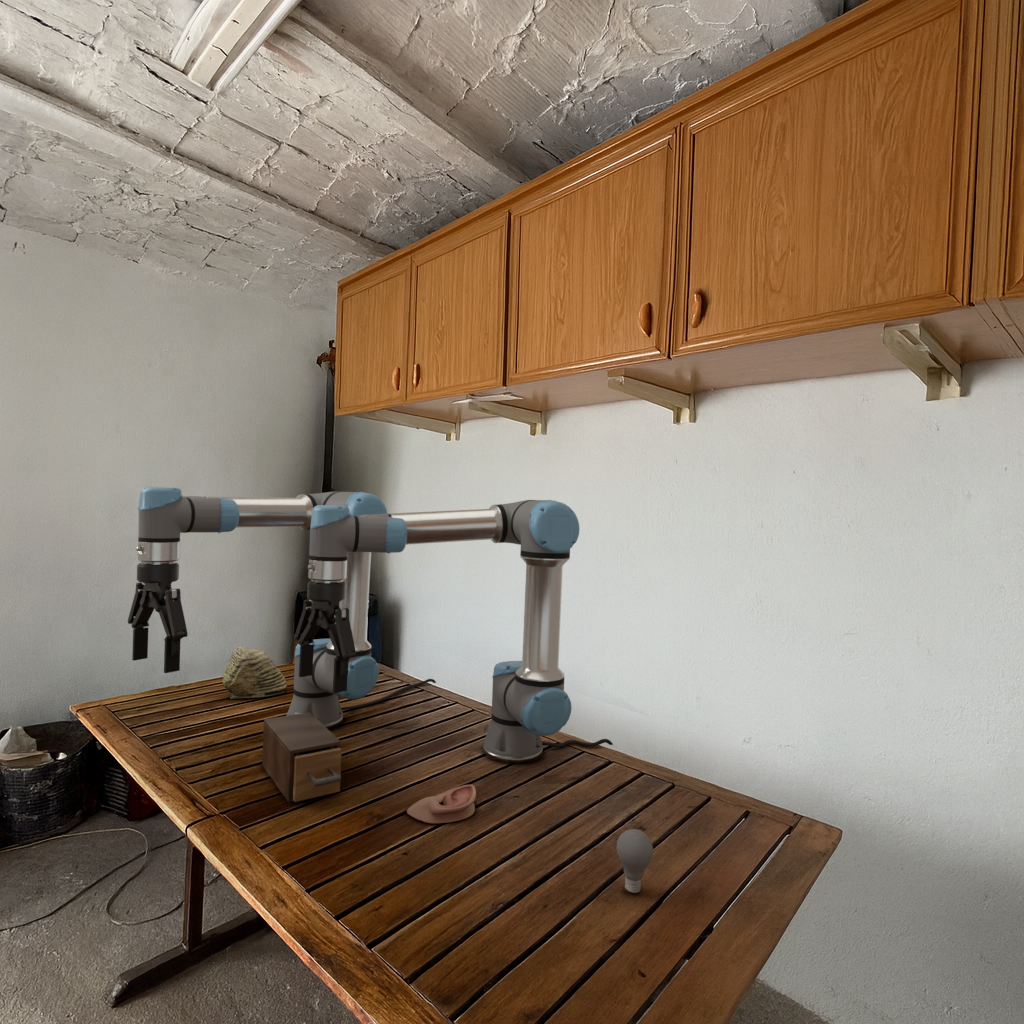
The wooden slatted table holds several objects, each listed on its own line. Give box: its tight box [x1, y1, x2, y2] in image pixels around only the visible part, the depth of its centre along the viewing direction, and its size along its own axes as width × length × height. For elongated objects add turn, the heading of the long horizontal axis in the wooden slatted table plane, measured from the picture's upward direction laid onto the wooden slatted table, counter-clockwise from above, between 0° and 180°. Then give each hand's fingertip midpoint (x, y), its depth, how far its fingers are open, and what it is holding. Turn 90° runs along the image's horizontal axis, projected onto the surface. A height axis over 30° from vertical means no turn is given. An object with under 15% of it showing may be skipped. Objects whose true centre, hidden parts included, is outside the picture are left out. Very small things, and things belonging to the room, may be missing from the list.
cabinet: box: [261, 712, 342, 803], centre depth 142 cm, size 21×11×11 cm, turn 35°
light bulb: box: [615, 828, 654, 894], centre depth 106 cm, size 6×6×10 cm
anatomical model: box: [406, 784, 477, 824], centre depth 130 cm, size 13×4×12 cm
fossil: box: [222, 646, 288, 699], centre depth 198 cm, size 9×18×15 cm, turn 132°
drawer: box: [293, 746, 342, 803], centre depth 138 cm, size 26×10×9 cm, turn 36°
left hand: (155, 665), depth 130 cm, fingers open, 13 cm apart
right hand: (322, 683), depth 130 cm, fingers open, 13 cm apart
